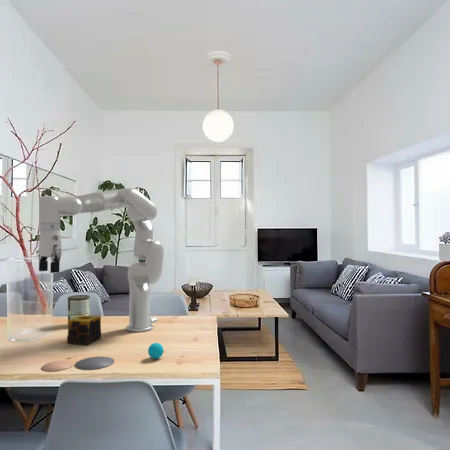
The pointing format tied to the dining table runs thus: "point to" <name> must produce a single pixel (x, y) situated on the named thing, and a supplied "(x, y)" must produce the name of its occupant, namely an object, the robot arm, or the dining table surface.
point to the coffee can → (78, 306)
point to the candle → (84, 330)
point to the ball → (155, 350)
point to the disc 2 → (94, 363)
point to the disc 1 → (57, 366)
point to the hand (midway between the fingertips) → (49, 271)
